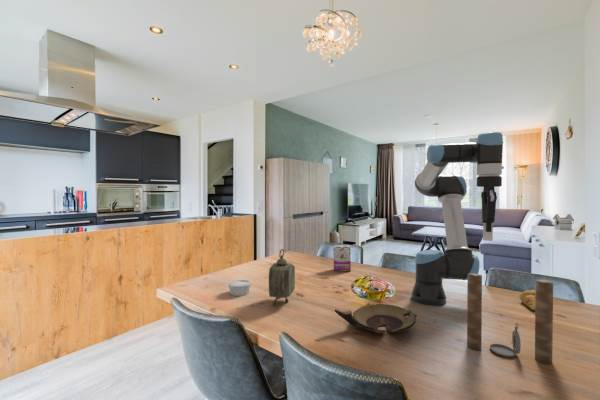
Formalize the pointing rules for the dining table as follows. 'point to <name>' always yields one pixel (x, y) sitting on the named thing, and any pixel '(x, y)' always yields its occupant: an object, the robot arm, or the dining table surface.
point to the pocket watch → (507, 350)
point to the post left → (474, 311)
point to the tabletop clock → (281, 279)
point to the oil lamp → (380, 318)
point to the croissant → (528, 298)
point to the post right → (544, 321)
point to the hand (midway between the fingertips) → (487, 240)
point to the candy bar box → (342, 258)
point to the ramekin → (239, 287)
